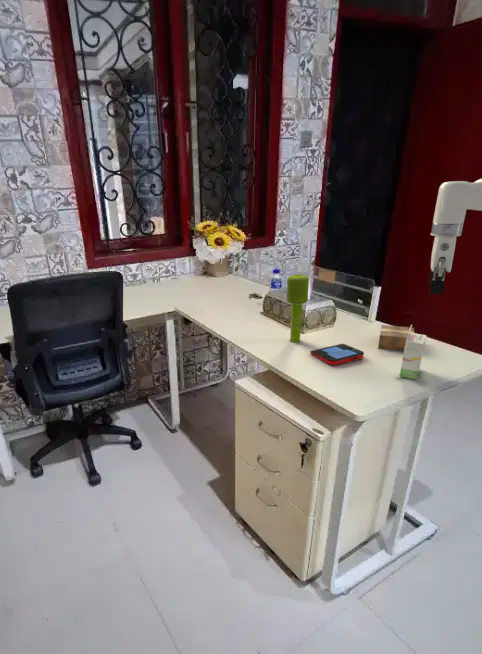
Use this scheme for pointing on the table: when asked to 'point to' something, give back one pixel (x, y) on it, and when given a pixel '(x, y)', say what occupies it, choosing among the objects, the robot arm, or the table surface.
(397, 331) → the cardboard box
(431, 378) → the table surface
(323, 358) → the game console
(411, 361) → the ink box
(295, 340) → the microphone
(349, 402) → the table surface
